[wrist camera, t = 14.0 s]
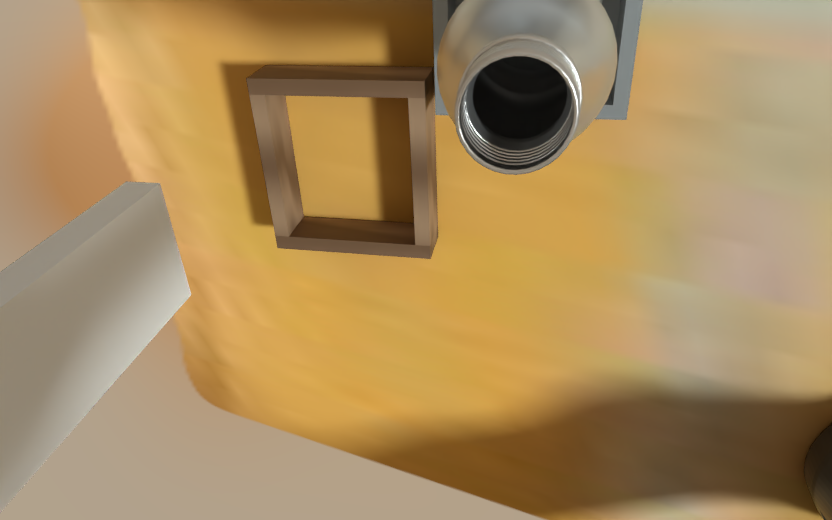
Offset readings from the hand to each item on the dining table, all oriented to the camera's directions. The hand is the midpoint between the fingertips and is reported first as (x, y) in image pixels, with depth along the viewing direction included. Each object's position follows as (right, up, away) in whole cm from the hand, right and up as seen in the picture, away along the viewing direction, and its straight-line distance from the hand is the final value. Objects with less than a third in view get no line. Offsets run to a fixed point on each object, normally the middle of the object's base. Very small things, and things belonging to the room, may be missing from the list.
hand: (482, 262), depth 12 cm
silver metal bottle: (+6, +15, +23) cm, 28 cm away
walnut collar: (-5, +7, +31) cm, 32 cm away
